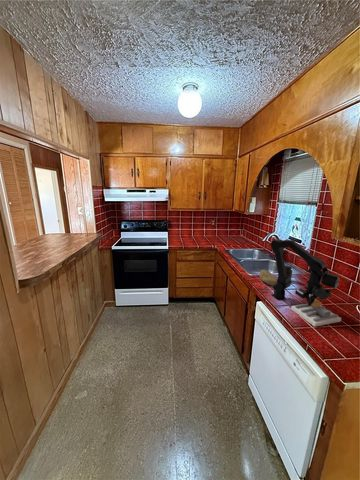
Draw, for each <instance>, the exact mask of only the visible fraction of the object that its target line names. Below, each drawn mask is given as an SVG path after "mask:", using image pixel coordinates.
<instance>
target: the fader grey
mask: <svg viewBox="0 0 360 480" xmlns="http://www.w3.org/2000/svg"><path fill="white" fill-rule="evenodd" d="M322 306H323V305H321V307H316V312H317V313H318V314H319V315H320V316H321V317H327V316H330V312H332V311H331V310H330V309H327V308H326V307H325V306H324V307H325V308H324V307H322ZM329 310H330V311H329Z"/></svg>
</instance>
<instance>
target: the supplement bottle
mask: <svg viewBox="0 0 360 480" xmlns="http://www.w3.org/2000/svg"><path fill="white" fill-rule="evenodd" d="M292 268H293V267H292V265H289V264H285V269H286V274H287V276H288V277H291V279H292V277H293V269H292Z"/></svg>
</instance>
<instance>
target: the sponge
mask: <svg viewBox="0 0 360 480" xmlns="http://www.w3.org/2000/svg"><path fill="white" fill-rule="evenodd" d="M259 278H260V280H261V281H263V283H265V284H268V285H269V286H272V287H273V286H274V285H276V284H277V278H278V277H276V276H275V275H274V274H272V273H271V272H270V271H269V270H266V269H262V270H260V272H259Z"/></svg>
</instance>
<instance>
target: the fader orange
mask: <svg viewBox="0 0 360 480" xmlns="http://www.w3.org/2000/svg"><path fill="white" fill-rule="evenodd" d="M311 306H312V307H313V308H314V307H315V308H316V307H321V306H322V302H321V300H318V299H317V298H316V299H315V300H314V302H313V303H312V304H311Z"/></svg>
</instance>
